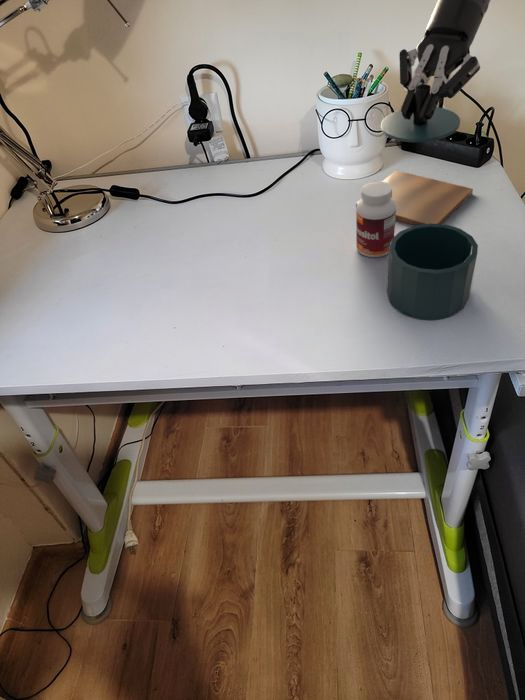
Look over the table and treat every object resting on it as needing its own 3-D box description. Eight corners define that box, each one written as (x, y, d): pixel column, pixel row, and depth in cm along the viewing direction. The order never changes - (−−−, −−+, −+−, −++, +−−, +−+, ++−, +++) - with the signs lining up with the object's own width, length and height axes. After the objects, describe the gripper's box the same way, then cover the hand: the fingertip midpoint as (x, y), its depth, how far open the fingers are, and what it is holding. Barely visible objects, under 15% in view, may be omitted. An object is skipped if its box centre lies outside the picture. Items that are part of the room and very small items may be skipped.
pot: (482, 285, 76) (492, 237, 70) (443, 331, 71) (451, 283, 65) (412, 261, 82) (416, 215, 76) (372, 301, 77) (373, 255, 71)
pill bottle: (348, 250, 87) (347, 191, 79) (371, 233, 89) (372, 174, 81) (378, 263, 83) (379, 203, 75) (401, 245, 85) (405, 185, 78)
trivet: (472, 193, 93) (473, 188, 93) (434, 231, 87) (434, 226, 86) (395, 174, 102) (395, 170, 101) (355, 207, 95) (355, 203, 95)
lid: (473, 119, 84) (479, 77, 80) (435, 152, 79) (439, 108, 74) (405, 108, 91) (408, 68, 86) (366, 137, 85) (366, 96, 81)
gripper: (412, -9, 80) (368, 102, 83) (500, -6, 72) (448, 115, 75) (426, 19, 86) (384, 121, 89) (509, 25, 78) (460, 136, 81)
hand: (414, 118), depth 82 cm, fingers closed on lid, 2 cm apart
